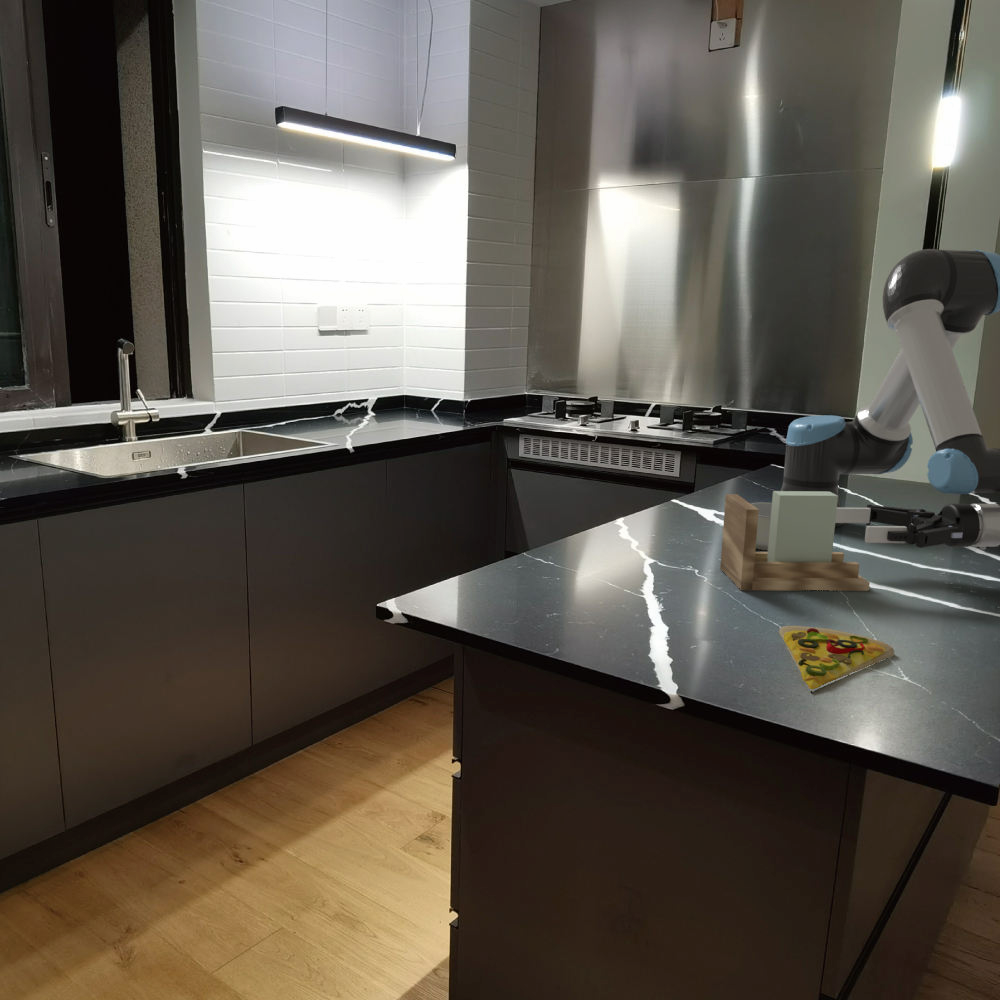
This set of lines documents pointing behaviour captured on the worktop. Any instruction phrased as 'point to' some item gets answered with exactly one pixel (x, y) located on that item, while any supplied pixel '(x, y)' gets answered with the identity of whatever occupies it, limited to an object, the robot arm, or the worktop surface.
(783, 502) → the pale green block
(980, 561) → the worktop surface
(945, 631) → the worktop surface
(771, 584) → the track
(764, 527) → the teacup
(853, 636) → the pizza slice
